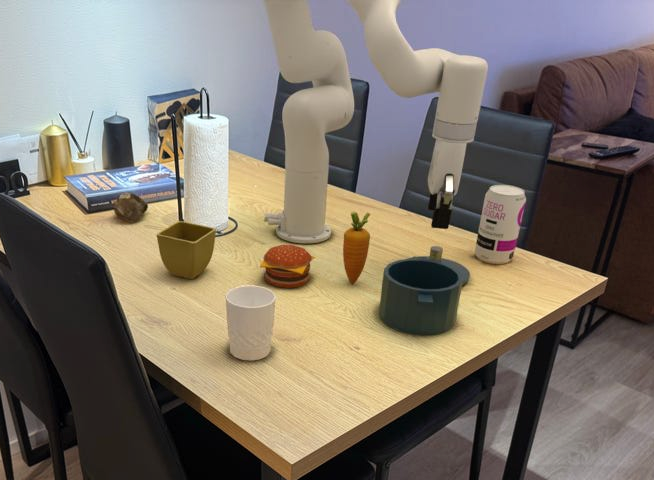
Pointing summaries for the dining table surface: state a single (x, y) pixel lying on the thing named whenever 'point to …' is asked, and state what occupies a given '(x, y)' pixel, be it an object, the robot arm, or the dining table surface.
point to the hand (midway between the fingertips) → (437, 218)
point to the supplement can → (500, 224)
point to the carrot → (355, 247)
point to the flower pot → (186, 248)
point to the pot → (420, 296)
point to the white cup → (250, 321)
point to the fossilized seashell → (129, 207)
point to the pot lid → (447, 262)
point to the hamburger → (287, 266)
